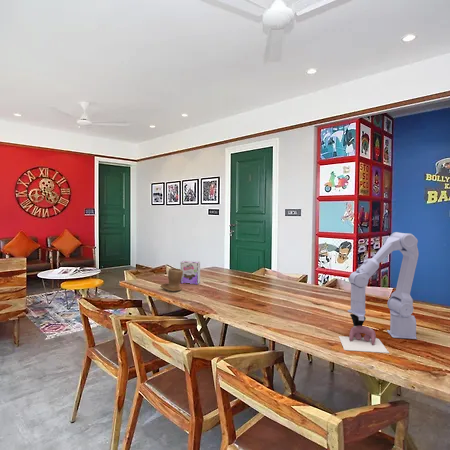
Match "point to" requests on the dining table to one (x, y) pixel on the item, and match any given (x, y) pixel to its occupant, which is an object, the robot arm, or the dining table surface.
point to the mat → (362, 345)
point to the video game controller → (362, 329)
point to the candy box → (190, 272)
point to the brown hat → (173, 280)
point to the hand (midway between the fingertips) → (357, 331)
